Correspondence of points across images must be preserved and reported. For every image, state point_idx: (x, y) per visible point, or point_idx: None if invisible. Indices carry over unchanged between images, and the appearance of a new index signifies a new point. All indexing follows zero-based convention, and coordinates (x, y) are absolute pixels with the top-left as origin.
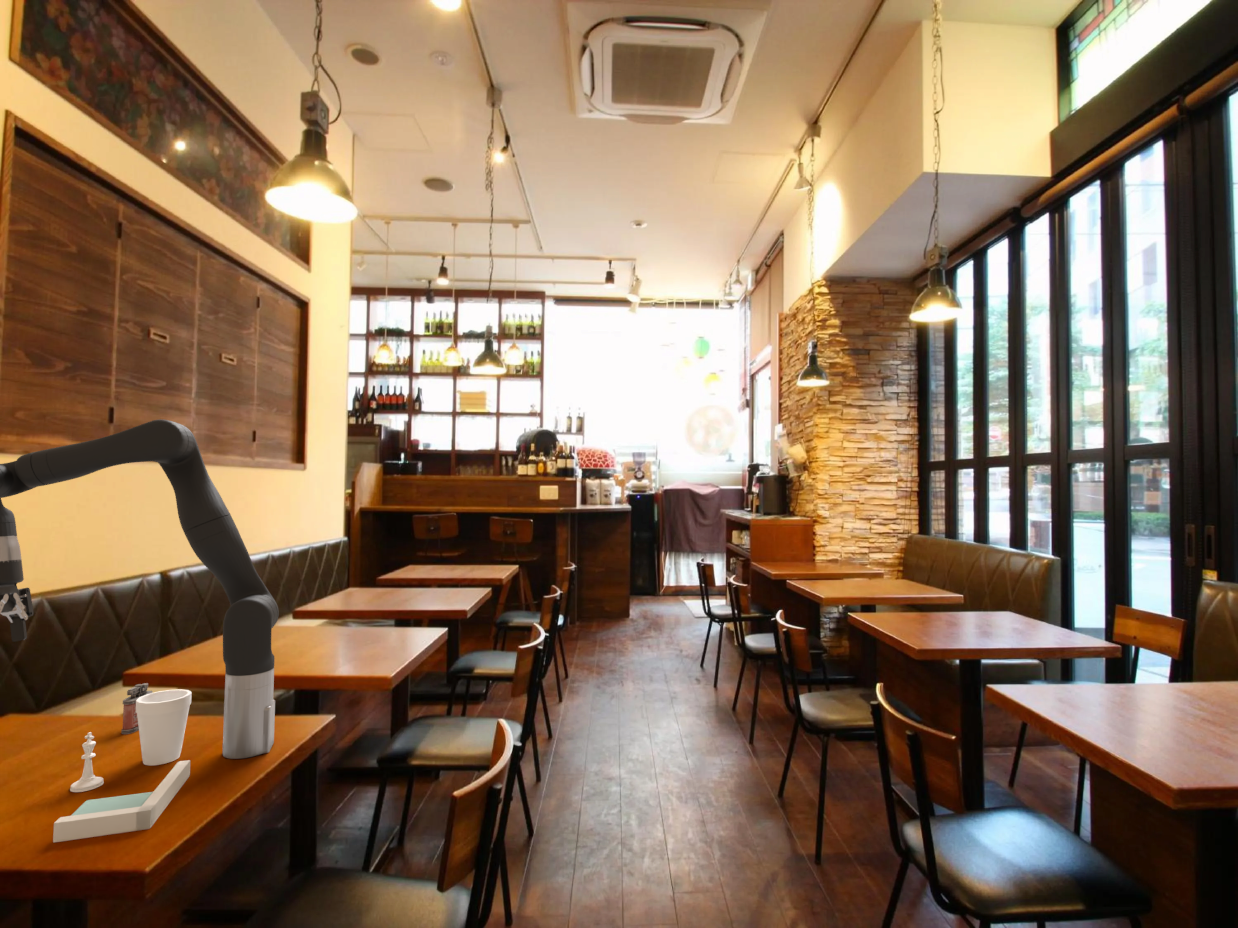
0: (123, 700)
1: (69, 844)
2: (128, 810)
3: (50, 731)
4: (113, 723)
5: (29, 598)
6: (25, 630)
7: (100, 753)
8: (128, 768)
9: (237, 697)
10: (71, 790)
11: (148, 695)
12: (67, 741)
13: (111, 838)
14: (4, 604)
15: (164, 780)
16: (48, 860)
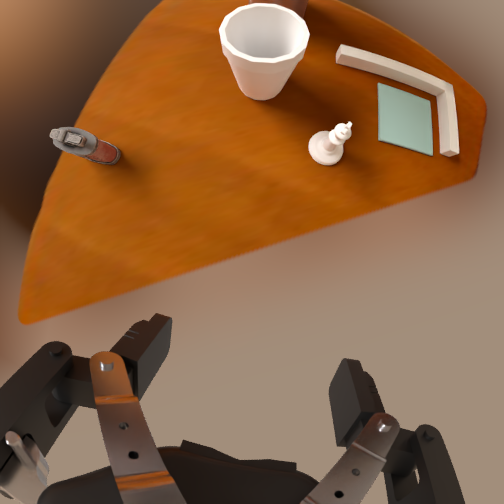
0: (87, 153)
1: None
2: (450, 99)
3: (70, 266)
4: (68, 192)
5: (3, 405)
6: (147, 330)
7: (194, 163)
8: (280, 112)
9: None
10: (336, 162)
11: (240, 52)
12: (117, 228)
13: None
14: (260, 499)
15: (394, 68)
16: (470, 155)
